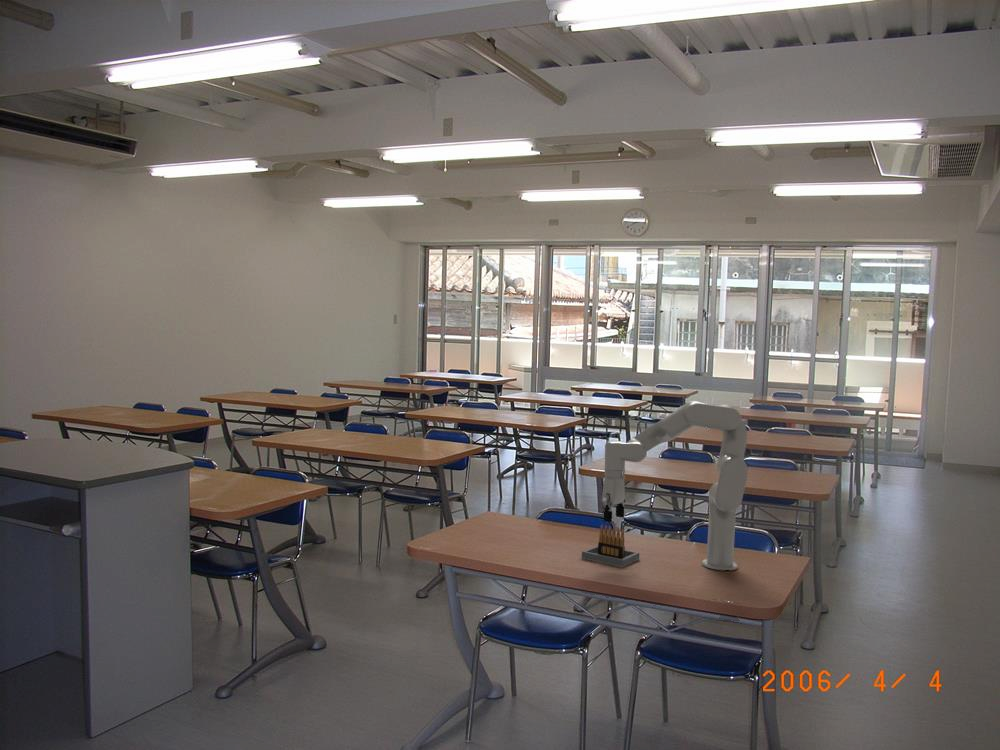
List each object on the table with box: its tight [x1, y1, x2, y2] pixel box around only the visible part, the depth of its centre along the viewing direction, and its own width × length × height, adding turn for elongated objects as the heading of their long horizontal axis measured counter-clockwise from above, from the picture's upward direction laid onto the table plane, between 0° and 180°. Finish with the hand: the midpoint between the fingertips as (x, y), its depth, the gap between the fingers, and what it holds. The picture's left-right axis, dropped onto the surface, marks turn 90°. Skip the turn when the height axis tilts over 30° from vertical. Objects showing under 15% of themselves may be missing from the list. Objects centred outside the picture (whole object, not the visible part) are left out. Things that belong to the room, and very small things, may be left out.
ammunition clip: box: [597, 523, 626, 559], centre depth 296 cm, size 11×2×12 cm, turn 54°
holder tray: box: [581, 545, 640, 568], centre depth 296 cm, size 14×17×3 cm
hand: (613, 519), depth 295 cm, fingers open, 9 cm apart
